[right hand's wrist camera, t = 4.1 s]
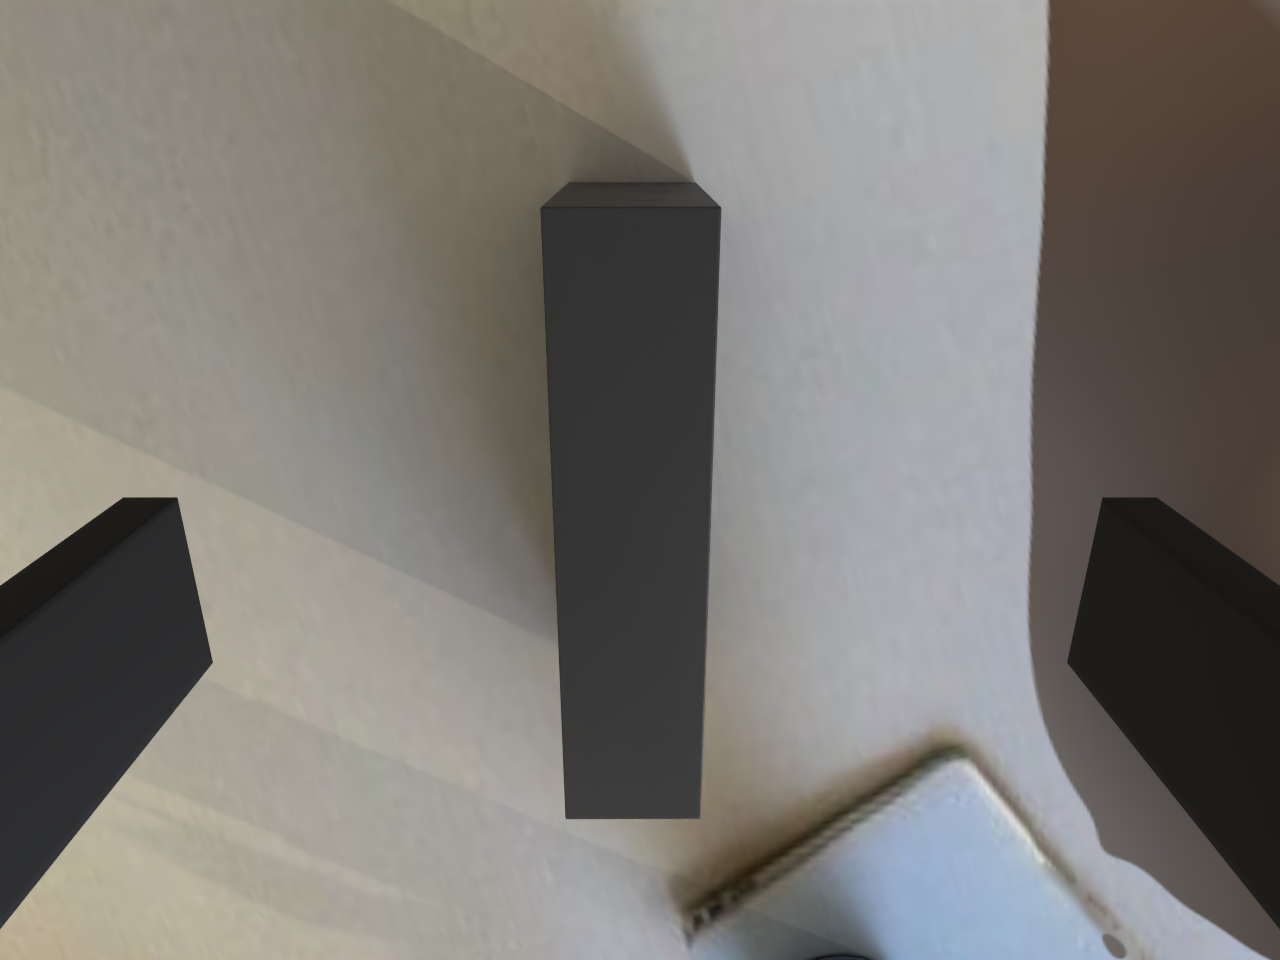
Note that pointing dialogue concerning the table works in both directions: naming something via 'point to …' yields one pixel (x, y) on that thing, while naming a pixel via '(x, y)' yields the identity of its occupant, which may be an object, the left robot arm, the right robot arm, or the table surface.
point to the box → (631, 487)
